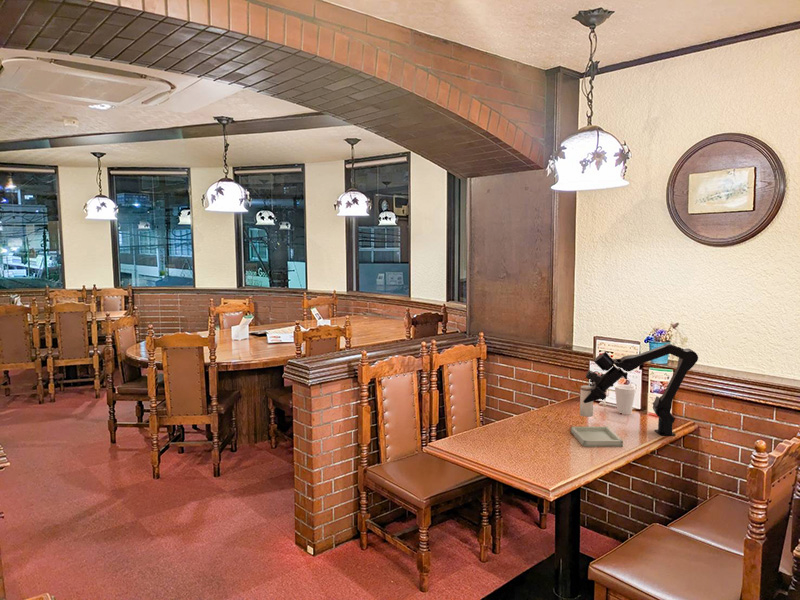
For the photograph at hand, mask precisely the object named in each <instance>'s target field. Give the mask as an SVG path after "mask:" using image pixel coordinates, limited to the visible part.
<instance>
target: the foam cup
mask: <svg viewBox="0 0 800 600" xmlns="http://www.w3.org/2000/svg"><path fill="white" fill-rule="evenodd" d="M636 391H637V389H636V386H634V385H630V384H616V385H615V386H614V392H615V402H616V410H617V411H618V412H619V413H618V412H617V411H616V412H617V413H618V414H620V413H622V414H621V415H625V414H628V415H631V414H632V411H633V405H634V400H635V394H636Z"/></svg>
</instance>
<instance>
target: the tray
mask: <svg viewBox="0 0 800 600" xmlns="http://www.w3.org/2000/svg"><path fill="white" fill-rule="evenodd" d="M570 433H571V434H572V435H573V437H575V438H576V440H577V441H578V442H579V444H580V445H582V447H583V448H612V447H613V448H618V447H619V448H623V446H624V445H623V444H624V440H622V439H621V437H619V436H618V435H617V434H616V433H615V432H614V431H612V430H611V429H610V428H609V427H608V426H570Z"/></svg>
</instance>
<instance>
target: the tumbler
mask: <svg viewBox="0 0 800 600" xmlns="http://www.w3.org/2000/svg"><path fill="white" fill-rule="evenodd" d="M591 388H593V386H589V384H587V385H580V396H579V397H580V398H579V400H580V401H579V415H580V416H581V417H583V418H587V417H588V418H590V417H593V416H594V401H591V402H588V403H584V402H583V401H584V400H585V399H586V397H587V396H588V395H589V394H590V393H591Z"/></svg>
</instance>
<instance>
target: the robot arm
mask: <svg viewBox="0 0 800 600" xmlns="http://www.w3.org/2000/svg"><path fill="white" fill-rule="evenodd" d="M668 355H672V356H675V357H677V359H678V360H677V364H676V365H677V367H676V368H675V370H674V373H673V374H672V375H671V378H670V379H669V381H668V384H667V386H666V388H665V389H664V391H663V393H662V395H660V397H659V396H656V397H655V399H654V401H653V402H652V403H651V404H652V410H653V411H654V413H655V415H656V416H657V417H658V422H657V423H658V424H657V425H658V426H657V429H654V431H655V432H656V434H658V435H660V436H676V433H675V432H674V431H673V425H674V422H675V420H676V417H674V415H673V414H672V413H671V411H672V408H673V407H672V406H673V400H674V397H675V396H676V395H677V393H678V390H679V388H680V386H681V384H682V382H683V381H684V379H685V377H686V375H687V373H688V372H690V370H691V369H692V368H693V367H694V366H695V365H696V363H697V362H698V361H699V355H698V354H697V353H696V352H695V351H694V350H692V349H691V348H682V347H680V346H678V345H677V346H676V345H673V344H672V343H665V344H663V345H660V346H658V347H655V348H652V349H649V350H646V351H644V352H642V353H639V354H638V353H637V354H630V355H624V356H622V357H621V358H612V357H611V356H610V354H609V353H608V352H607V351H604V352H603V353H601V354H599V355H598V356H596V357H595V359H594V361H593V362H594V364H596V365H597V366H598V367H599V368H600V370H601V371H603V372H604V371H606V372H605V373H601V374H598V373H597V372H595V371H592V370H590V369H588V370H587V371H586V373H585V378H586V379H588V380H589V382H588V386H593V388H591V393H590V394H589V395H588V396H587V397H586V399H585V400H584V401H583V402H584V403H588V402H591V401H593V402H595V401H599V400H600V401H601V400H602V401H604V400H605V399H607V394H606V393H607V390H608V389H610V388H612V387H615V386H614V384H616V382H618V381H619V380H620V379H621V378H623V379H625V380H628V374H629V373H628V372H632V371H635V369H638V368H639V367H640V366H641V365H644V364H645V363H648V362H651V361H653V360H656V359H659V358H661V357H664V356H668Z"/></svg>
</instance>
